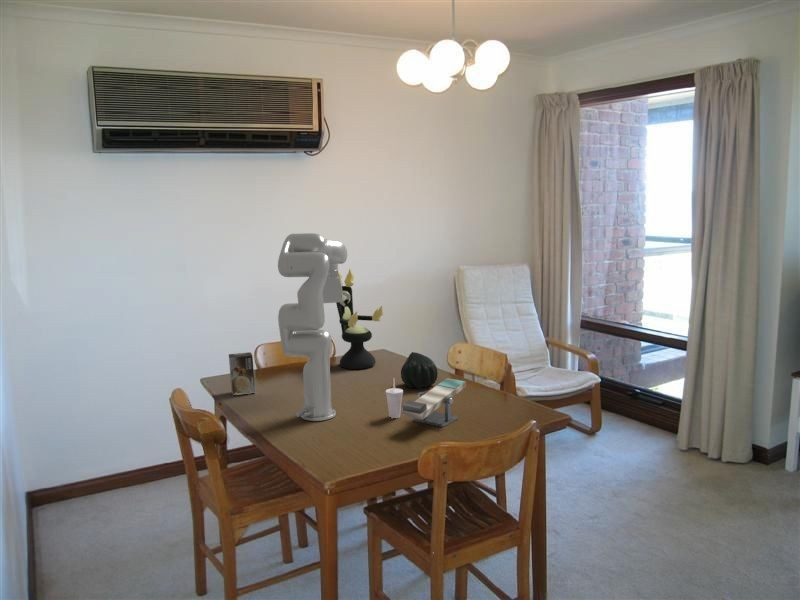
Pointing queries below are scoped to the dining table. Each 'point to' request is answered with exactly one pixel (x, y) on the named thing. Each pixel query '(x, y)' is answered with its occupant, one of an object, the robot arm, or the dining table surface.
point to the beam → (432, 399)
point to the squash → (419, 371)
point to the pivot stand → (439, 414)
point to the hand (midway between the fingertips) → (330, 316)
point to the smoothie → (394, 400)
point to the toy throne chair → (355, 331)
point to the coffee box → (241, 373)
